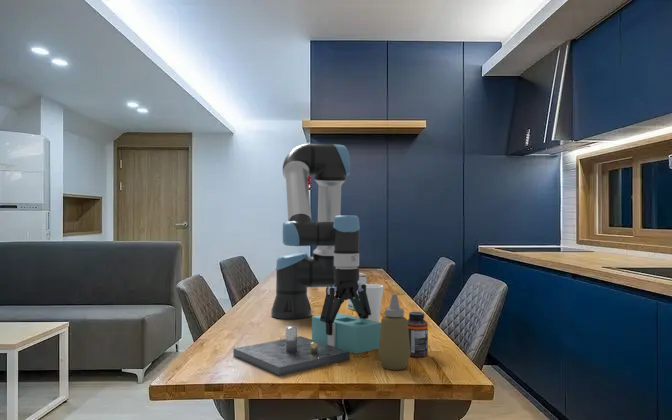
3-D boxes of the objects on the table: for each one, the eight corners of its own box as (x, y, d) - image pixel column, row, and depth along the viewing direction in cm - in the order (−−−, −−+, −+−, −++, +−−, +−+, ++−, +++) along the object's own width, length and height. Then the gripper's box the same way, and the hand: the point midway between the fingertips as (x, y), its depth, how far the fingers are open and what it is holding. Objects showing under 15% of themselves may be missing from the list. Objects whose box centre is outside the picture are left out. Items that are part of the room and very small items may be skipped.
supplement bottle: (404, 351, 139) (404, 310, 139) (426, 351, 138) (426, 310, 139) (406, 357, 133) (406, 314, 133) (429, 357, 132) (429, 314, 133)
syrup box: (347, 308, 205) (347, 272, 206) (360, 307, 208) (360, 272, 208) (353, 310, 200) (353, 274, 201) (366, 309, 203) (366, 273, 203)
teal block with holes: (311, 339, 152) (311, 316, 152) (337, 335, 158) (337, 312, 158) (356, 353, 136) (356, 327, 136) (382, 347, 143) (382, 323, 143)
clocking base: (233, 355, 133) (233, 325, 134) (300, 343, 148) (300, 315, 148) (279, 376, 117) (279, 341, 117) (350, 359, 131) (350, 328, 131)
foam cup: (381, 326, 171) (381, 288, 172) (354, 324, 173) (354, 287, 173) (384, 320, 181) (384, 284, 181) (358, 319, 182) (359, 283, 183)
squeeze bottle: (388, 373, 119) (388, 297, 119) (372, 364, 126) (372, 292, 127) (417, 369, 122) (417, 295, 122) (399, 361, 129) (400, 291, 130)
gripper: (323, 271, 137) (323, 352, 137) (383, 266, 152) (383, 339, 152) (307, 269, 143) (307, 346, 142) (366, 264, 158) (366, 335, 157)
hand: (346, 343), depth 147 cm, fingers open, 11 cm apart
